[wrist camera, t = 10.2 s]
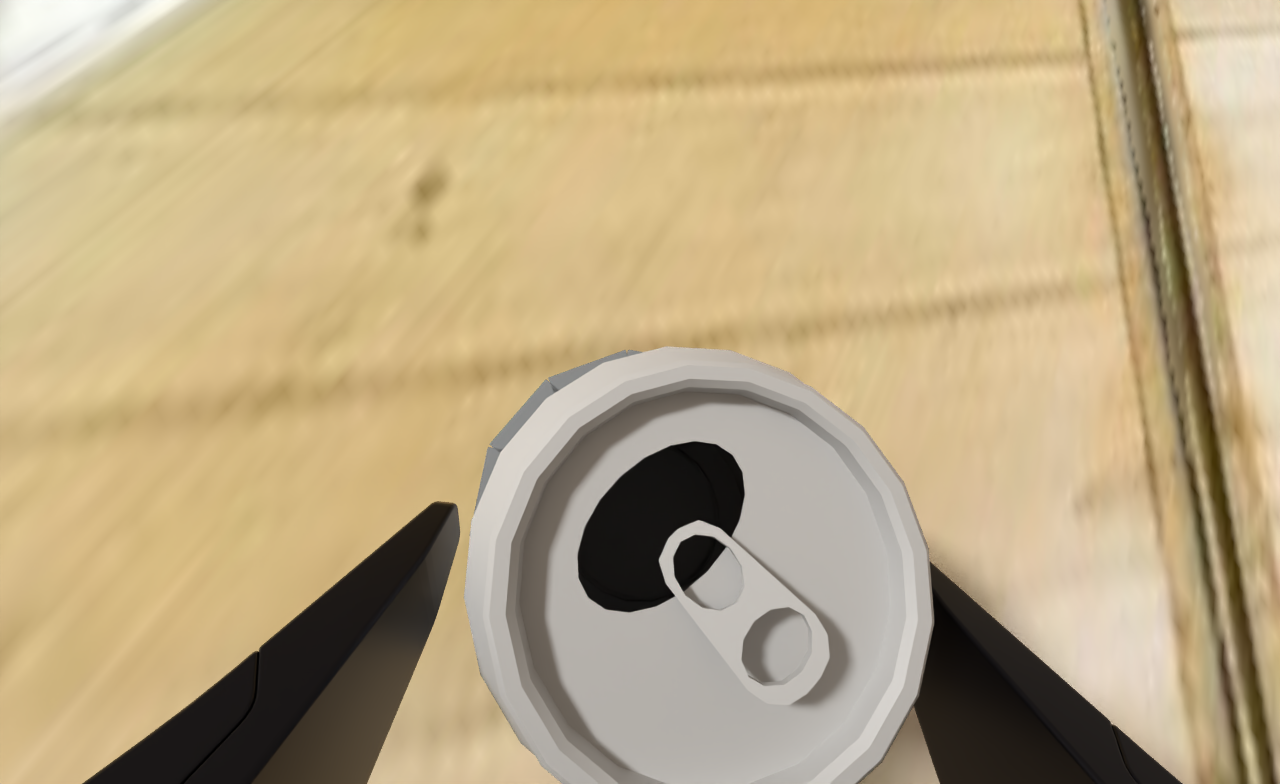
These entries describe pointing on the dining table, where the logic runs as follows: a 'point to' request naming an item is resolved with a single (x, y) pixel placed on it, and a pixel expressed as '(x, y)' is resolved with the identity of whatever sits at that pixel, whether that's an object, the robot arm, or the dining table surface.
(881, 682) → the can
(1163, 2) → the dining table surface
